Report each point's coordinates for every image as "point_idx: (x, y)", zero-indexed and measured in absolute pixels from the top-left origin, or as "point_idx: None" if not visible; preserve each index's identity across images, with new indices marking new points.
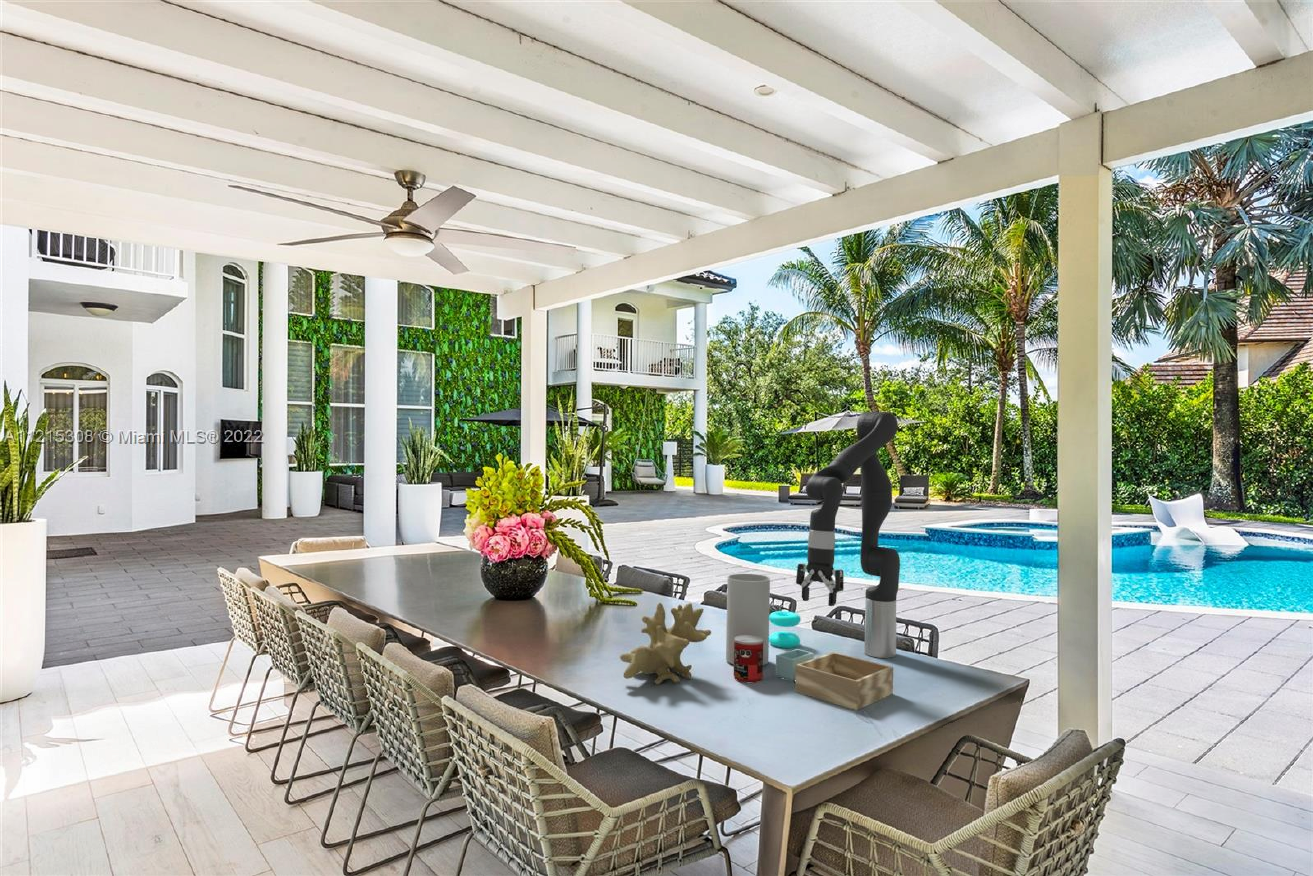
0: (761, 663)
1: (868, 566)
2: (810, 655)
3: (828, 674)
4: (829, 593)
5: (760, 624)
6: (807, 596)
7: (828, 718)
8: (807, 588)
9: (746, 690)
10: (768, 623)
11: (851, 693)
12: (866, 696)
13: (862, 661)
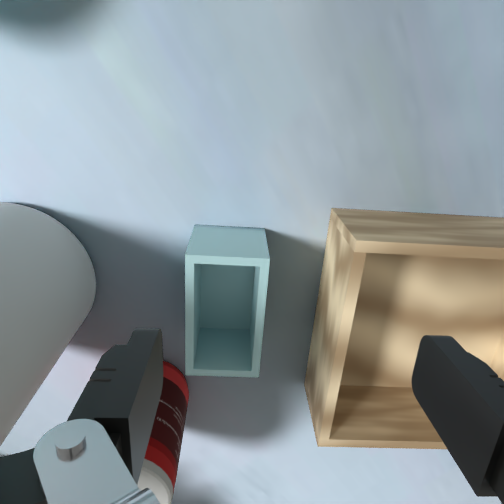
0: (182, 421)
1: None
2: (267, 277)
3: (435, 447)
4: (479, 488)
5: (22, 405)
6: (154, 374)
7: (439, 457)
8: (133, 453)
9: (209, 447)
10: (7, 338)
11: None
12: None
13: (495, 257)
